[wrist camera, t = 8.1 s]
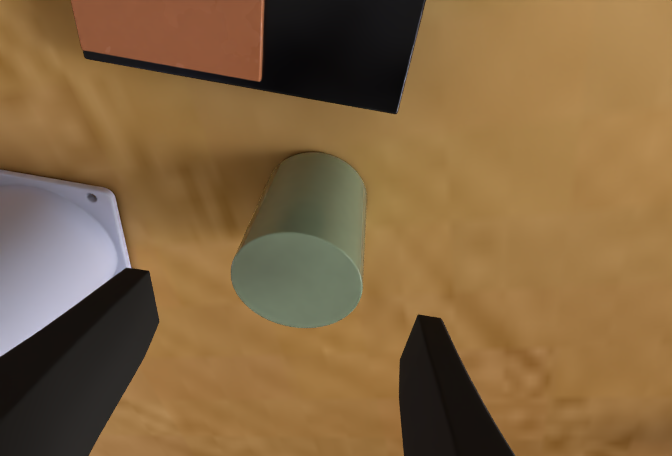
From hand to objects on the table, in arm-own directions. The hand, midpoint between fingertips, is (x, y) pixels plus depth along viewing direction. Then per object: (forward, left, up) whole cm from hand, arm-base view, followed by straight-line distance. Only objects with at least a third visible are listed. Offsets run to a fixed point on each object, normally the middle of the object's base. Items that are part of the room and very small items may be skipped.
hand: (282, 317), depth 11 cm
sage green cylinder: (0, -2, -9) cm, 9 cm away
